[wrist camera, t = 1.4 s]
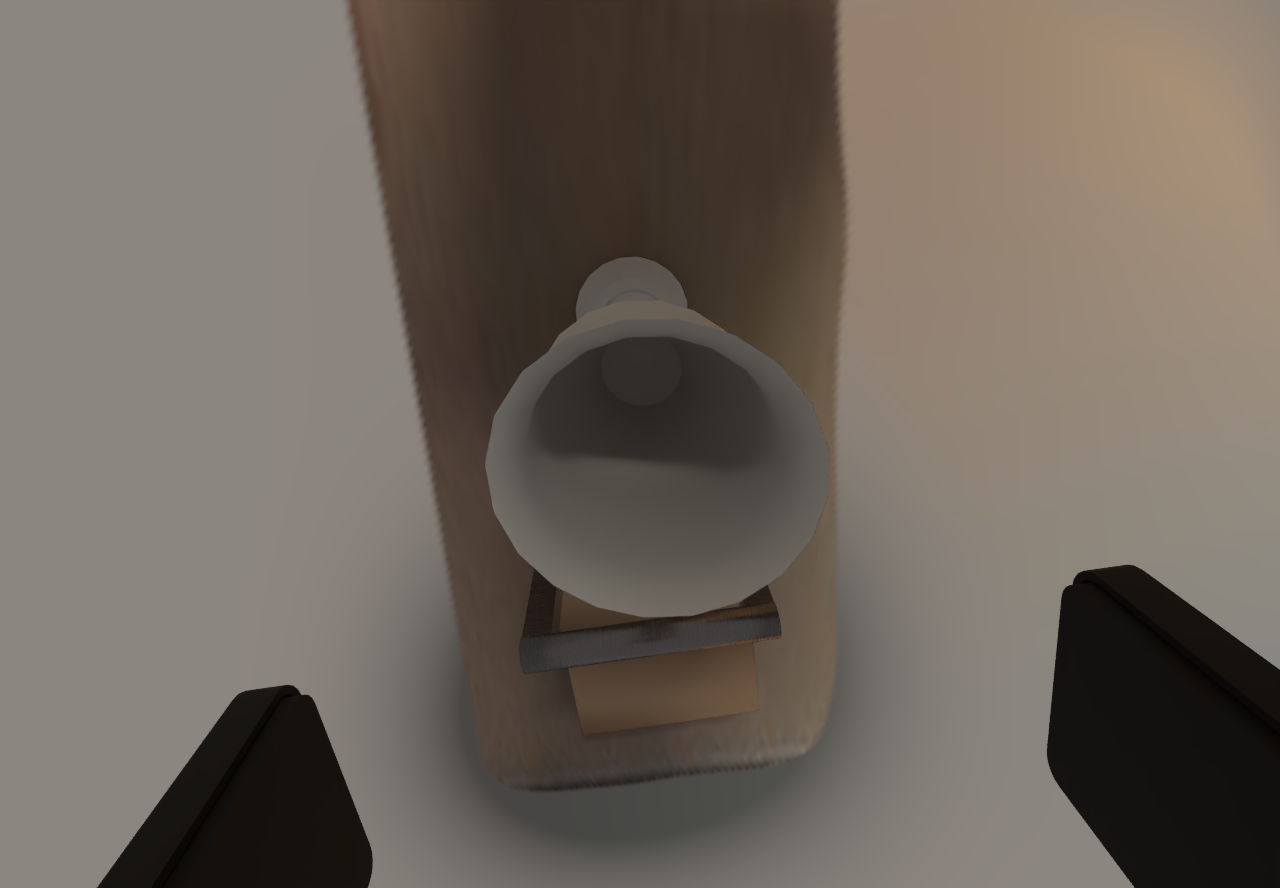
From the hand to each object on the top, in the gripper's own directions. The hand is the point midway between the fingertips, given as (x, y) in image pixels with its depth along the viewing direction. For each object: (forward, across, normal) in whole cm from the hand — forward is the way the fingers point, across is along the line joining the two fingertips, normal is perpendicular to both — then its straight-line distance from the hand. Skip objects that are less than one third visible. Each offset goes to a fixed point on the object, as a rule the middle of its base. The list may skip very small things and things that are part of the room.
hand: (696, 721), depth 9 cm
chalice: (+25, 0, -1) cm, 25 cm away
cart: (+25, +1, +13) cm, 28 cm away
